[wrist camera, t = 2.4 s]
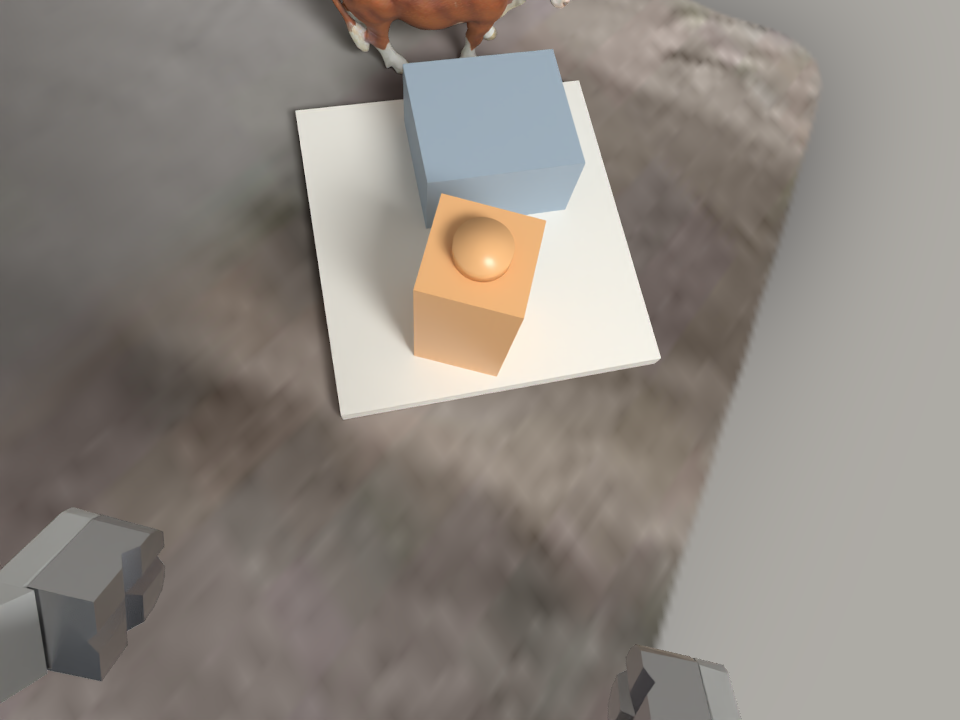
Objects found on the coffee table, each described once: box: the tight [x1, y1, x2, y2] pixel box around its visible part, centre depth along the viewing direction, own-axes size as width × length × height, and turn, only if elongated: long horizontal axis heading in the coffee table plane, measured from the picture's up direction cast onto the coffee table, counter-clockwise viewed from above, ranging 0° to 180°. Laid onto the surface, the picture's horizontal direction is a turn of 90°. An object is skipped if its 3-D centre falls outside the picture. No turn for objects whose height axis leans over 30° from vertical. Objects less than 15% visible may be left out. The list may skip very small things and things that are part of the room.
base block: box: [403, 49, 585, 229], centre depth 34 cm, size 8×7×4 cm
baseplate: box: [295, 81, 661, 420], centre depth 35 cm, size 17×18×1 cm
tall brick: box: [413, 193, 546, 377], centre depth 28 cm, size 4×4×9 cm
